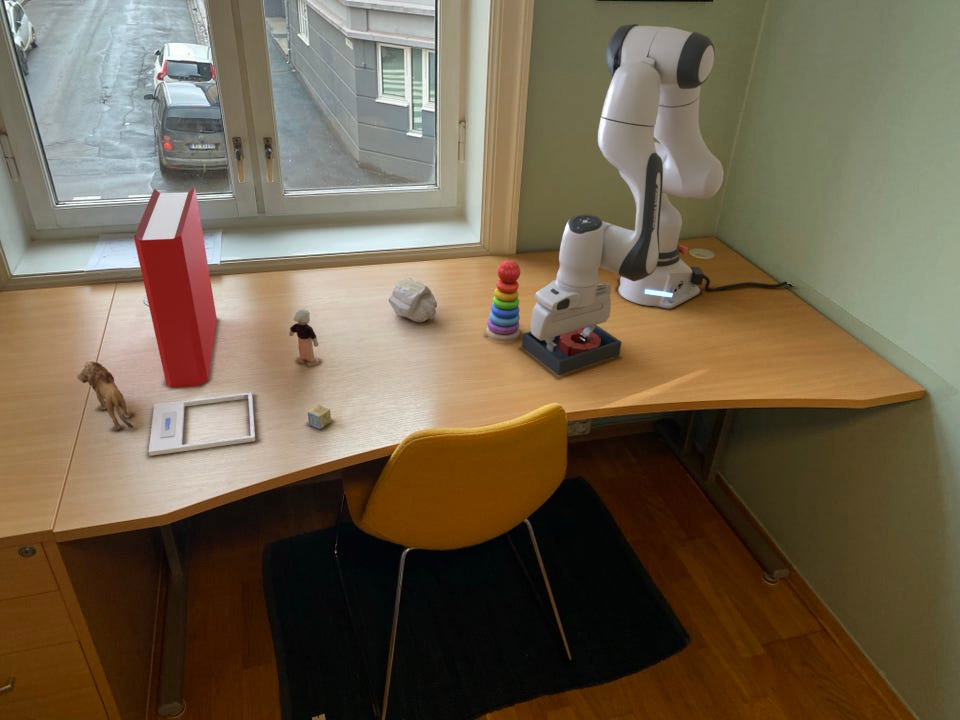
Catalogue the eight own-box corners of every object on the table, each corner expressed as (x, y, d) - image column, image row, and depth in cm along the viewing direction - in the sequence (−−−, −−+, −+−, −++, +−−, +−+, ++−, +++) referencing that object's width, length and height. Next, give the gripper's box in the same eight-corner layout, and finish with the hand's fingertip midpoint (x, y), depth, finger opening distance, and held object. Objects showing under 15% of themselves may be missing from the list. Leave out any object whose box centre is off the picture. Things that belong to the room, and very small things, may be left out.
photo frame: (154, 403, 140) (251, 391, 144) (155, 408, 140) (252, 396, 145) (148, 450, 128) (254, 436, 133) (149, 455, 129) (255, 441, 133)
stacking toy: (516, 346, 167) (523, 272, 157) (482, 341, 168) (487, 267, 158) (522, 329, 173) (528, 257, 163) (489, 324, 175) (494, 252, 165)
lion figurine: (82, 403, 141) (70, 364, 136) (109, 392, 144) (98, 353, 139) (120, 436, 133) (109, 396, 128) (148, 423, 136) (138, 383, 132)
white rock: (430, 330, 171) (441, 314, 180) (434, 298, 167) (445, 283, 176) (381, 319, 173) (394, 303, 181) (384, 287, 169) (397, 272, 177)
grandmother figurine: (326, 360, 158) (323, 308, 151) (317, 369, 155) (313, 317, 148) (295, 352, 160) (290, 301, 153) (286, 361, 157) (280, 309, 150)
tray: (580, 331, 174) (582, 315, 172) (618, 357, 165) (621, 341, 163) (521, 349, 166) (522, 333, 164) (557, 378, 156) (559, 362, 154)
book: (180, 322, 168) (154, 188, 151) (217, 319, 170) (194, 187, 153) (165, 388, 146) (132, 240, 129) (207, 385, 148) (180, 238, 131)
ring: (581, 333, 172) (583, 325, 170) (607, 352, 165) (609, 343, 164) (551, 343, 167) (552, 334, 166) (576, 362, 161) (577, 353, 159)
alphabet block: (308, 424, 139) (307, 411, 137) (319, 416, 141) (318, 403, 139) (320, 430, 137) (319, 417, 136) (331, 422, 140) (330, 409, 138)
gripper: (602, 275, 163) (593, 329, 171) (529, 294, 153) (523, 350, 161) (621, 287, 159) (611, 341, 166) (547, 306, 149) (540, 363, 156)
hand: (567, 345), depth 163 cm, fingers open, 8 cm apart
